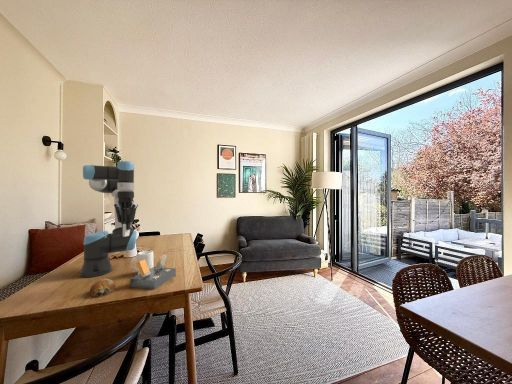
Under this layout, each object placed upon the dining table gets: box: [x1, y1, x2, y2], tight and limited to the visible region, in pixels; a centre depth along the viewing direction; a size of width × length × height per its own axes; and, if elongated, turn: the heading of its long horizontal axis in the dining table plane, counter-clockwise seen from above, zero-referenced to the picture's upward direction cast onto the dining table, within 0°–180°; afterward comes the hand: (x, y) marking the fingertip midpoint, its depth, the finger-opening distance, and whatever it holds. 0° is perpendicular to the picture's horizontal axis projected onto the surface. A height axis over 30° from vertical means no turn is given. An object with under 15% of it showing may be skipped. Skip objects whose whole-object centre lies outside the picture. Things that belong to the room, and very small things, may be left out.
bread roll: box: [89, 278, 116, 298], centre depth 106 cm, size 10×10×8 cm
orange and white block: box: [136, 259, 151, 278], centre depth 115 cm, size 2×5×8 cm, turn 167°
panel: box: [129, 253, 177, 290], centre depth 119 cm, size 14×18×12 cm
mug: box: [130, 250, 154, 275], centre depth 130 cm, size 12×8×12 cm
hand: (126, 235), depth 117 cm, fingers closed
